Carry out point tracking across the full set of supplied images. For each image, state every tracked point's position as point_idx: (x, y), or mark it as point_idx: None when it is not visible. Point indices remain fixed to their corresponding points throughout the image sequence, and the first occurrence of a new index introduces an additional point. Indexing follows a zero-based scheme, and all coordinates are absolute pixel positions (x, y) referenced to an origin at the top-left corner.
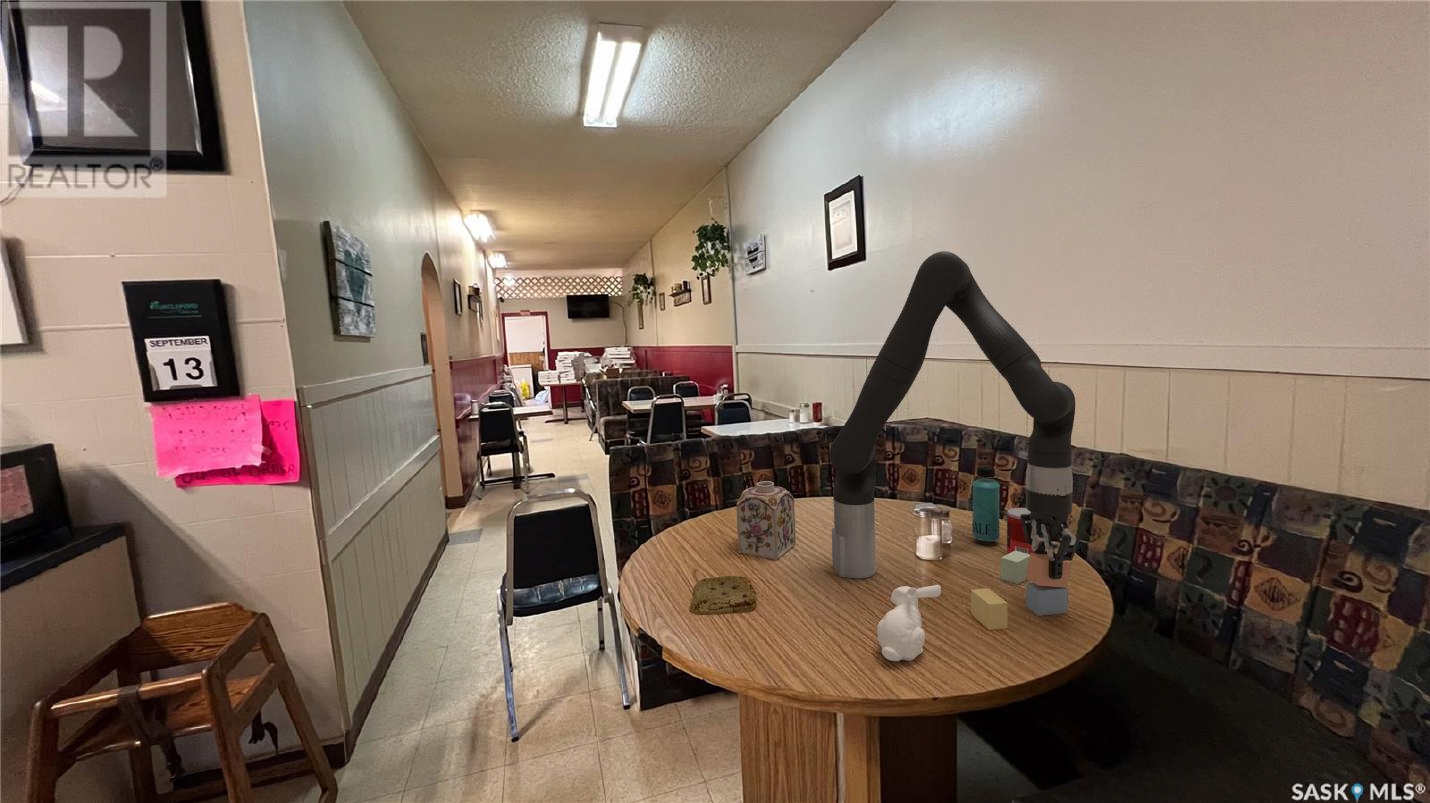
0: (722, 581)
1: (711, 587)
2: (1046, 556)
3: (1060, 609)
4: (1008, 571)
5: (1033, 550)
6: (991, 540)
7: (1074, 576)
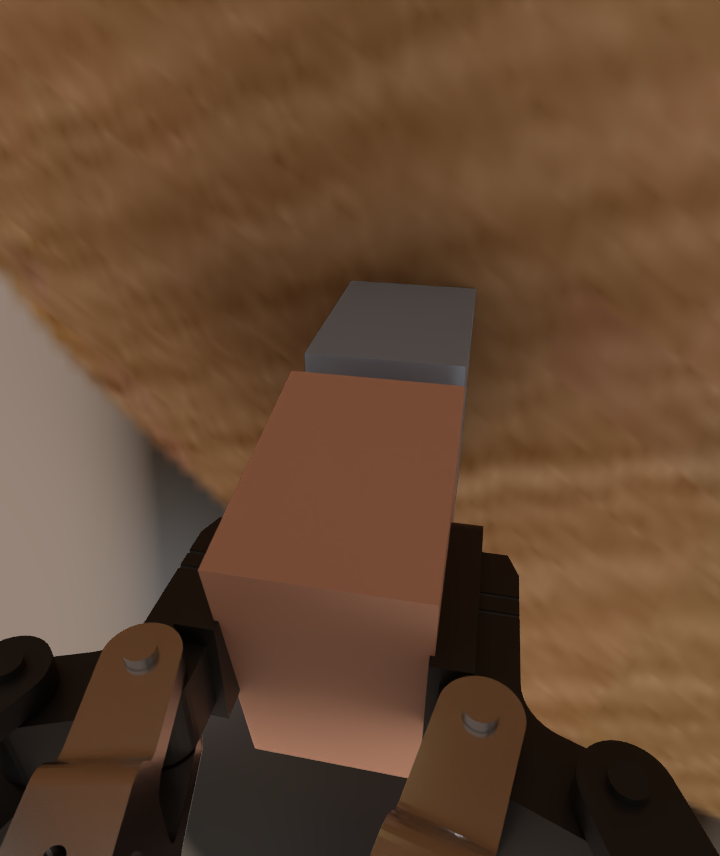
0: None
1: None
2: (358, 682)
3: None
4: None
5: (486, 679)
6: None
7: (700, 754)
